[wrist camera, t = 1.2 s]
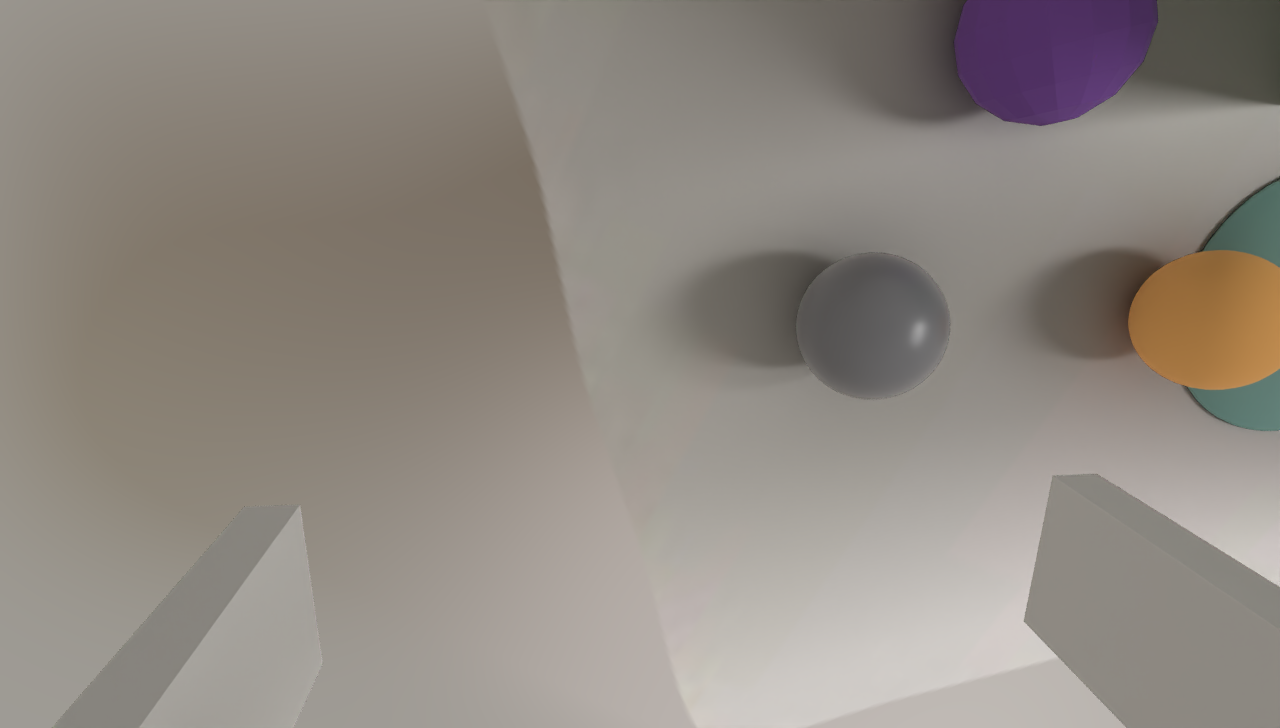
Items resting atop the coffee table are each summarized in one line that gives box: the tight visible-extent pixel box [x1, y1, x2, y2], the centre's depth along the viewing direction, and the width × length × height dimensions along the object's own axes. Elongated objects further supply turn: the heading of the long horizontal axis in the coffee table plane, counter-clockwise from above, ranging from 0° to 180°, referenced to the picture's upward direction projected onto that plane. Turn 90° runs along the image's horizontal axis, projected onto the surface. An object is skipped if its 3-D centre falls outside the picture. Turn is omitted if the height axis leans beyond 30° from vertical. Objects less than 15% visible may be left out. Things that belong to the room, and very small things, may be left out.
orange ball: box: [1128, 250, 1280, 390], centre depth 28 cm, size 6×6×6 cm
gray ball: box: [796, 253, 950, 399], centre depth 27 cm, size 6×6×6 cm
